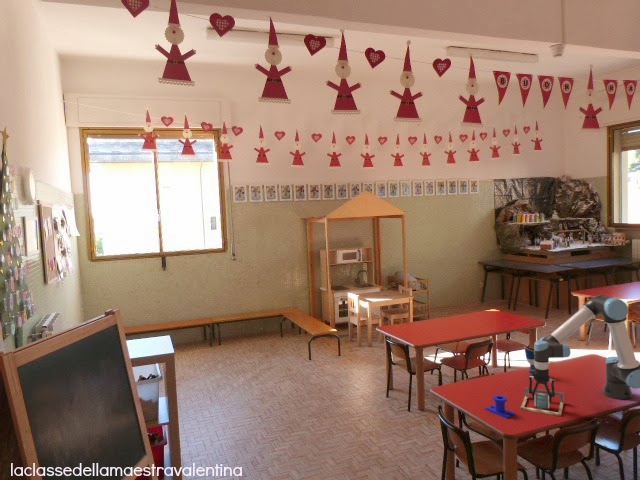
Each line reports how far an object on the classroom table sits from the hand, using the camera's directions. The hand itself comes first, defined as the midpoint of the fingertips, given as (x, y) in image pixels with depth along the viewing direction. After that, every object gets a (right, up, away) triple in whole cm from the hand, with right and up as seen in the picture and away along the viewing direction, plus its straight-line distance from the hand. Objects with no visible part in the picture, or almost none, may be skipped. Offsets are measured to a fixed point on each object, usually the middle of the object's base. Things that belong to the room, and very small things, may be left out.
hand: (542, 406), depth 278 cm
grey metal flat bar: (+5, 0, +9) cm, 10 cm away
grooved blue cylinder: (0, 0, 0) cm, 0 cm away
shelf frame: (+1, 0, +1) cm, 1 cm away
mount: (-26, -2, -5) cm, 27 cm away
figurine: (+17, +3, +51) cm, 54 cm away
